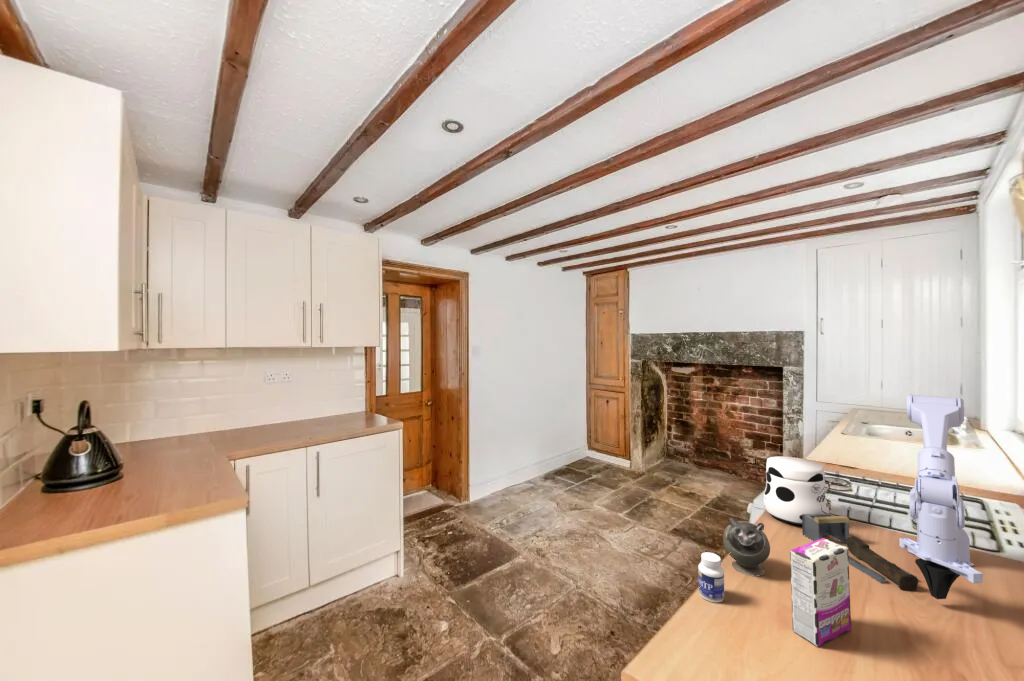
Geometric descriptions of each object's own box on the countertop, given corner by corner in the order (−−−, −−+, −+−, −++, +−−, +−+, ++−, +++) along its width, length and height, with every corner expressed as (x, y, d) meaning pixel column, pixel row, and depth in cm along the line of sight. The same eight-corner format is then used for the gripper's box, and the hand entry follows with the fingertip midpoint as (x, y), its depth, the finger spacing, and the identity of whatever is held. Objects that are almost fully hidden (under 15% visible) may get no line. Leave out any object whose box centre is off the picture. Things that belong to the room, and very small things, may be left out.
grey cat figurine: (731, 578, 97) (778, 582, 95) (729, 529, 98) (776, 531, 95) (719, 556, 107) (761, 559, 105) (717, 512, 107) (759, 513, 105)
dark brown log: (920, 593, 91) (919, 573, 91) (900, 592, 91) (900, 571, 91) (858, 550, 110) (858, 533, 110) (842, 549, 110) (842, 532, 110)
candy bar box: (823, 615, 84) (822, 536, 84) (852, 630, 79) (850, 547, 79) (789, 631, 79) (788, 548, 79) (817, 648, 75) (816, 560, 75)
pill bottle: (693, 592, 92) (692, 553, 92) (709, 586, 94) (709, 548, 94) (713, 606, 87) (712, 565, 87) (729, 599, 89) (729, 559, 89)
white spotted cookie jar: (844, 531, 120) (843, 471, 121) (786, 531, 121) (785, 471, 121) (803, 507, 138) (802, 455, 138) (752, 507, 138) (751, 455, 138)
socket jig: (831, 533, 119) (831, 509, 119) (916, 581, 95) (916, 551, 95) (802, 534, 118) (802, 510, 118) (880, 583, 94) (880, 552, 95)
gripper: (886, 519, 93) (887, 578, 93) (958, 552, 79) (959, 621, 79) (915, 518, 94) (916, 576, 94) (992, 550, 79) (993, 619, 79)
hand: (938, 597), depth 86 cm, fingers closed
